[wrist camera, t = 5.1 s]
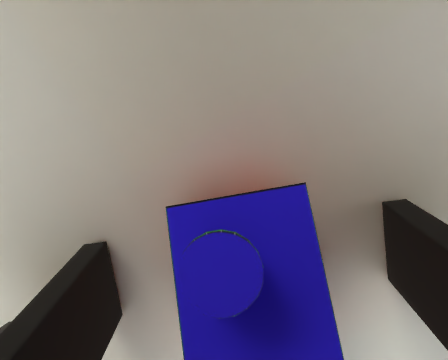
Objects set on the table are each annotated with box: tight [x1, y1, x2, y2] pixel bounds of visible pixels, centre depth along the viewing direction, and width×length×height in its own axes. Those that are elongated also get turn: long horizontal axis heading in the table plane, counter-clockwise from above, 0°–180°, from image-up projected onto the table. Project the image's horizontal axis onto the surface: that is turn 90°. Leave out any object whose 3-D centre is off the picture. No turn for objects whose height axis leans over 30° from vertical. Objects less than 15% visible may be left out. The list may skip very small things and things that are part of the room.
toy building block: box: [166, 182, 344, 360], centre depth 11 cm, size 4×4×8 cm
